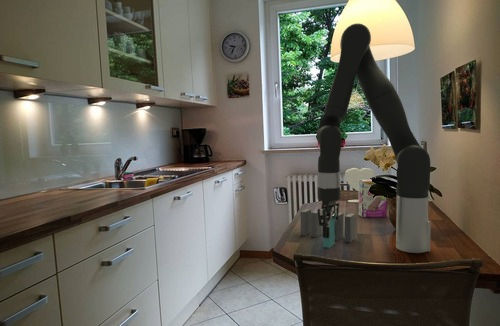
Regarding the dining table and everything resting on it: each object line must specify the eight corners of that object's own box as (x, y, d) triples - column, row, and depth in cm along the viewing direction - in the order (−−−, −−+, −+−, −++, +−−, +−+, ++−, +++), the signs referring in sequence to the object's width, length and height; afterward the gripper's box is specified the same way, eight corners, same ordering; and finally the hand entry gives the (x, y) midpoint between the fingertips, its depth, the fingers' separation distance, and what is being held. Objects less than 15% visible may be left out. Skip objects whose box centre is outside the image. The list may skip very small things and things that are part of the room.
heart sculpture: (374, 200, 198) (374, 167, 196) (375, 202, 193) (375, 168, 191) (345, 200, 201) (345, 167, 199) (345, 201, 196) (345, 168, 194)
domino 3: (323, 247, 120) (323, 220, 120) (329, 243, 125) (328, 217, 124) (329, 248, 119) (329, 221, 119) (334, 244, 123) (334, 218, 123)
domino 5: (344, 241, 126) (344, 216, 125) (349, 238, 130) (349, 213, 129) (350, 242, 124) (350, 216, 124) (355, 238, 129) (355, 214, 128)
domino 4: (333, 240, 128) (333, 215, 127) (338, 236, 132) (338, 212, 131) (338, 240, 127) (338, 215, 126) (343, 237, 131) (343, 212, 130)
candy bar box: (362, 218, 158) (362, 181, 157) (358, 215, 163) (358, 179, 162) (387, 217, 159) (387, 180, 157) (382, 214, 164) (383, 179, 162)
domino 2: (311, 236, 132) (311, 212, 132) (316, 233, 137) (316, 210, 136) (316, 237, 131) (316, 213, 131) (321, 234, 136) (321, 210, 135)
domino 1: (300, 235, 135) (300, 211, 134) (306, 232, 139) (306, 208, 138) (305, 235, 134) (305, 212, 133) (311, 232, 138) (311, 209, 137)
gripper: (326, 182, 128) (326, 229, 130) (309, 187, 116) (309, 239, 118) (347, 183, 124) (347, 232, 125) (331, 189, 112) (331, 243, 114)
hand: (329, 235), depth 122 cm, fingers closed on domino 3, 5 cm apart
